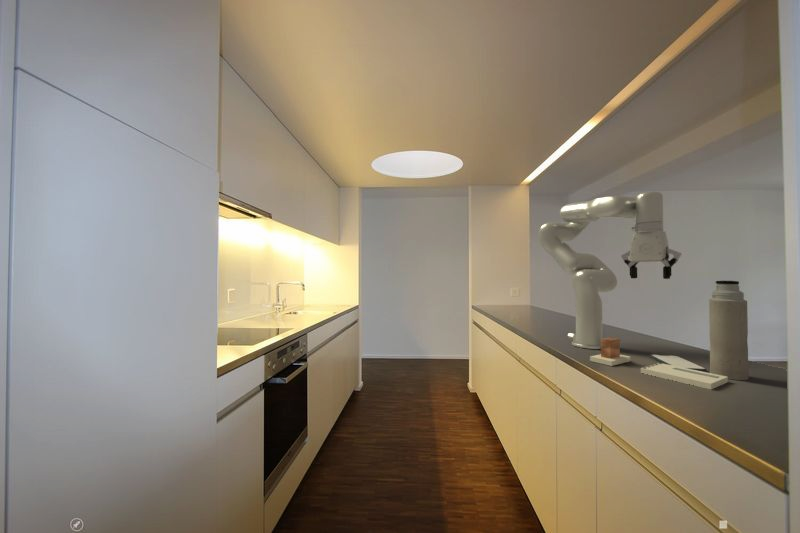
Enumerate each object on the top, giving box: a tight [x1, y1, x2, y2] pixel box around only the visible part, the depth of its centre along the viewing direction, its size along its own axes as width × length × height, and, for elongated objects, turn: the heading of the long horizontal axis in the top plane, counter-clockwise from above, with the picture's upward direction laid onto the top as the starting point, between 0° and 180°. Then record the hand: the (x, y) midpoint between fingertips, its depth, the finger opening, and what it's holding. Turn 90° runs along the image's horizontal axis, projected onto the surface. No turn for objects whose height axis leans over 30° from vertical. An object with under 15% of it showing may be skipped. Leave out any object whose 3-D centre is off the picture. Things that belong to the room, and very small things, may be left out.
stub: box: [589, 337, 632, 367], centre depth 112 cm, size 7×12×8 cm, turn 120°
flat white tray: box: [640, 362, 729, 391], centre depth 95 cm, size 16×12×2 cm
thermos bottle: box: [708, 280, 749, 381], centre depth 97 cm, size 8×8×28 cm
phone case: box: [650, 354, 708, 373], centre depth 109 cm, size 9×2×16 cm
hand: (649, 278), depth 113 cm, fingers open, 9 cm apart
